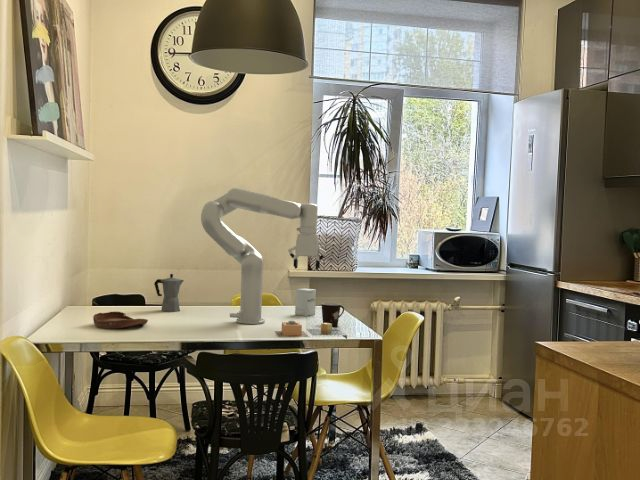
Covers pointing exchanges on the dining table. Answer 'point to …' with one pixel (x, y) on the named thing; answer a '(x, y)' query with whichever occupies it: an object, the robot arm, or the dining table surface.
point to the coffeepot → (169, 293)
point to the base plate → (327, 330)
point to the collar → (291, 329)
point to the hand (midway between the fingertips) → (306, 268)
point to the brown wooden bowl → (116, 320)
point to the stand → (291, 335)
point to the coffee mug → (331, 313)
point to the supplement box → (305, 302)
